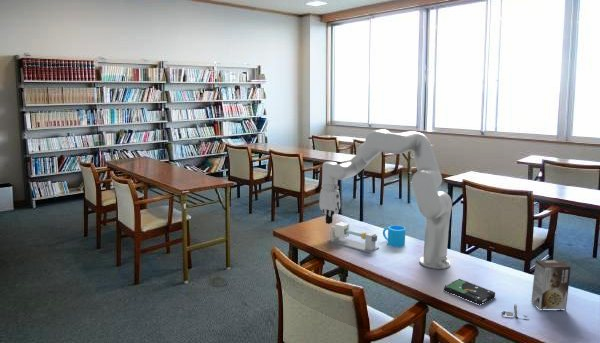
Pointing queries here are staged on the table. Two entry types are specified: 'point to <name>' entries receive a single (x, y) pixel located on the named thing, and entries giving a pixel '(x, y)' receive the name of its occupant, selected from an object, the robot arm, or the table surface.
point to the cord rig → (367, 247)
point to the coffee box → (550, 284)
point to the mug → (395, 235)
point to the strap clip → (511, 312)
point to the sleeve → (341, 229)
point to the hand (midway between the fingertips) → (328, 223)
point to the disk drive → (469, 291)
